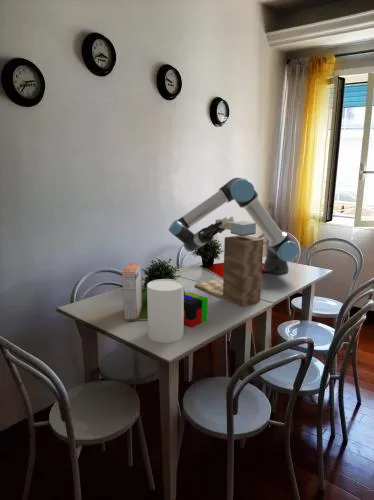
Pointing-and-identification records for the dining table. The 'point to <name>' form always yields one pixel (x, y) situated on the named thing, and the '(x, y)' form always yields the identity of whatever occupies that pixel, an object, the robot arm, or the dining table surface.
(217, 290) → the board
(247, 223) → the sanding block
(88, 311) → the dining table surface
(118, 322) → the dining table surface
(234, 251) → the wooden block
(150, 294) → the canister
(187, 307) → the puzzle toy
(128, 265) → the cracker box
